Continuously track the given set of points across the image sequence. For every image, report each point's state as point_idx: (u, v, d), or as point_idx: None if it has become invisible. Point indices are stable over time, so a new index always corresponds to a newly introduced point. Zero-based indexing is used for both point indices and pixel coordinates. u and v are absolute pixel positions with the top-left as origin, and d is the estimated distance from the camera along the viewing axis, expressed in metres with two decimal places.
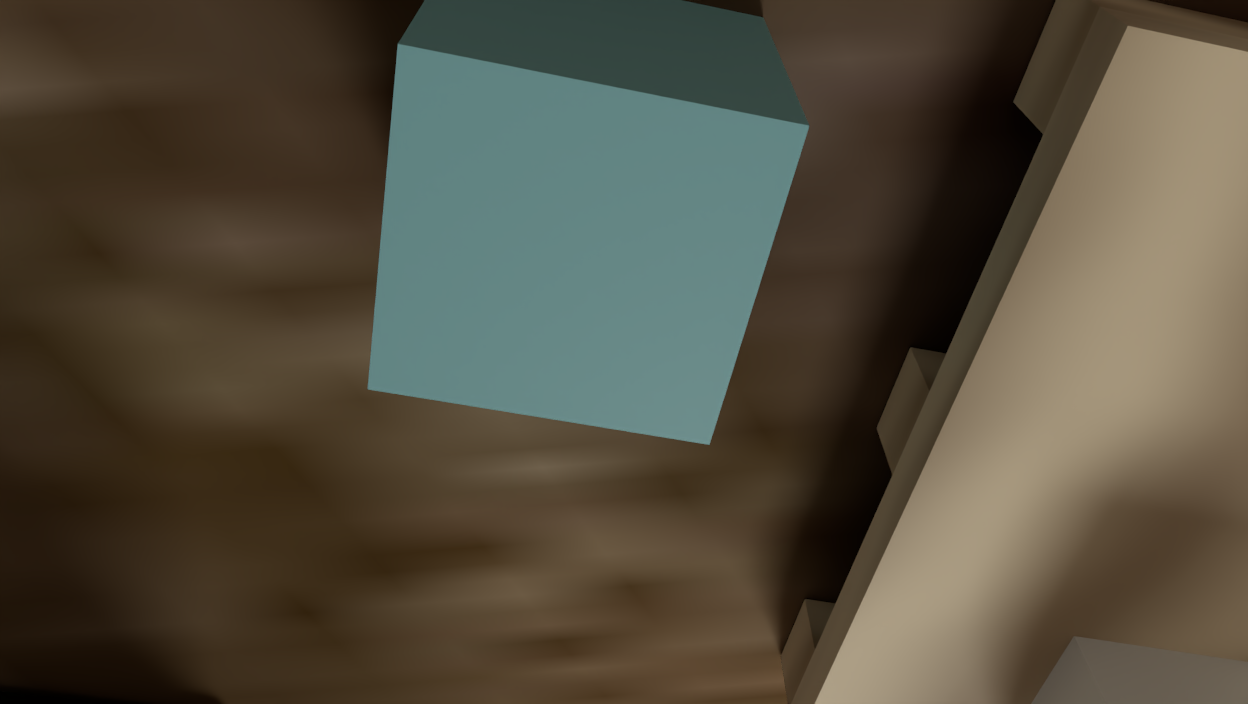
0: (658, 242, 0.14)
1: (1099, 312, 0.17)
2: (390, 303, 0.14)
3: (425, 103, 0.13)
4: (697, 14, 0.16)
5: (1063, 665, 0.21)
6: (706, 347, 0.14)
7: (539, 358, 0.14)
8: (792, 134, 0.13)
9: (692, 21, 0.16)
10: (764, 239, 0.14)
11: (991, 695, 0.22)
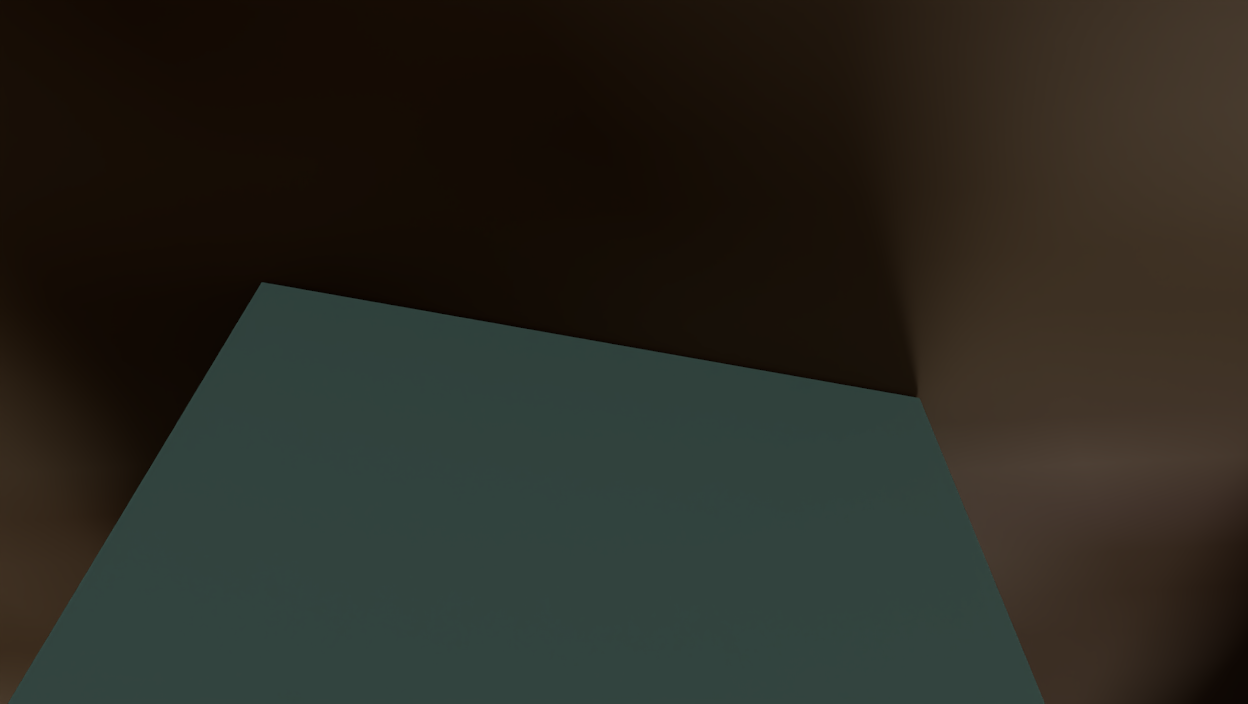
0: None
1: None
2: None
3: None
4: (792, 436, 0.07)
5: None
6: None
7: None
8: None
9: (786, 477, 0.07)
10: None
11: None
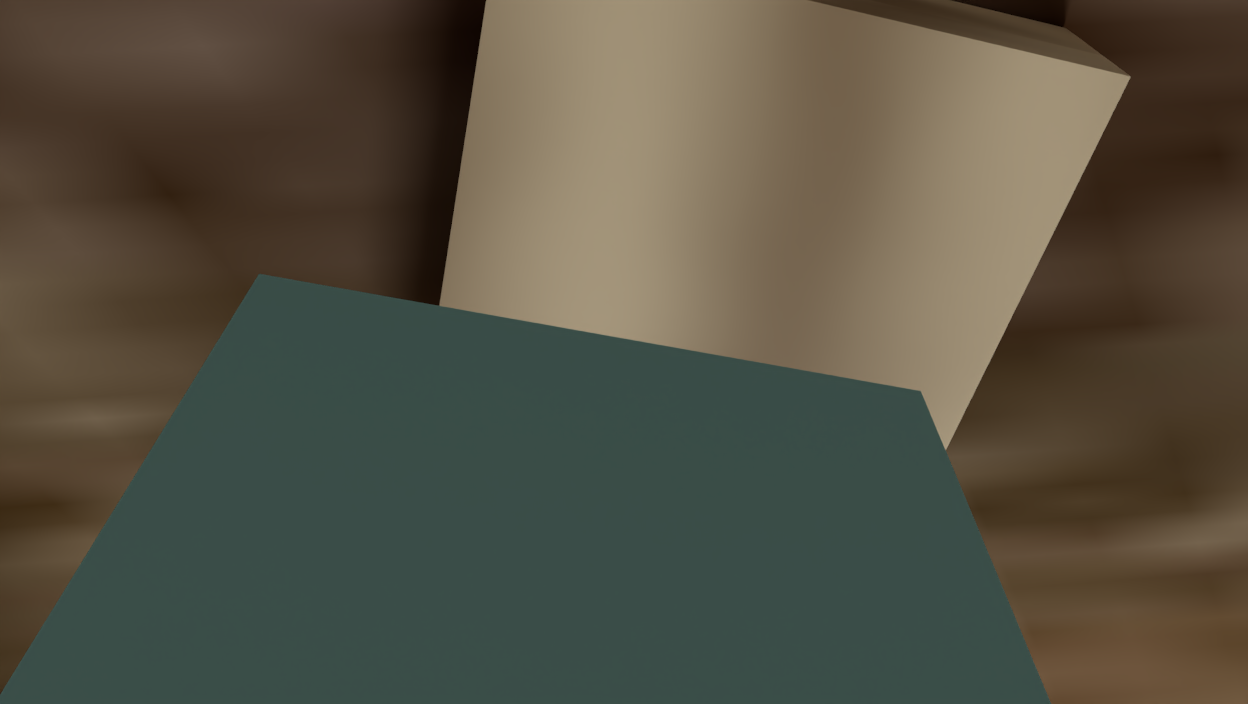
0: None
1: (558, 245, 0.16)
2: None
3: None
4: (793, 429, 0.07)
5: None
6: None
7: None
8: None
9: (786, 469, 0.07)
10: None
11: None
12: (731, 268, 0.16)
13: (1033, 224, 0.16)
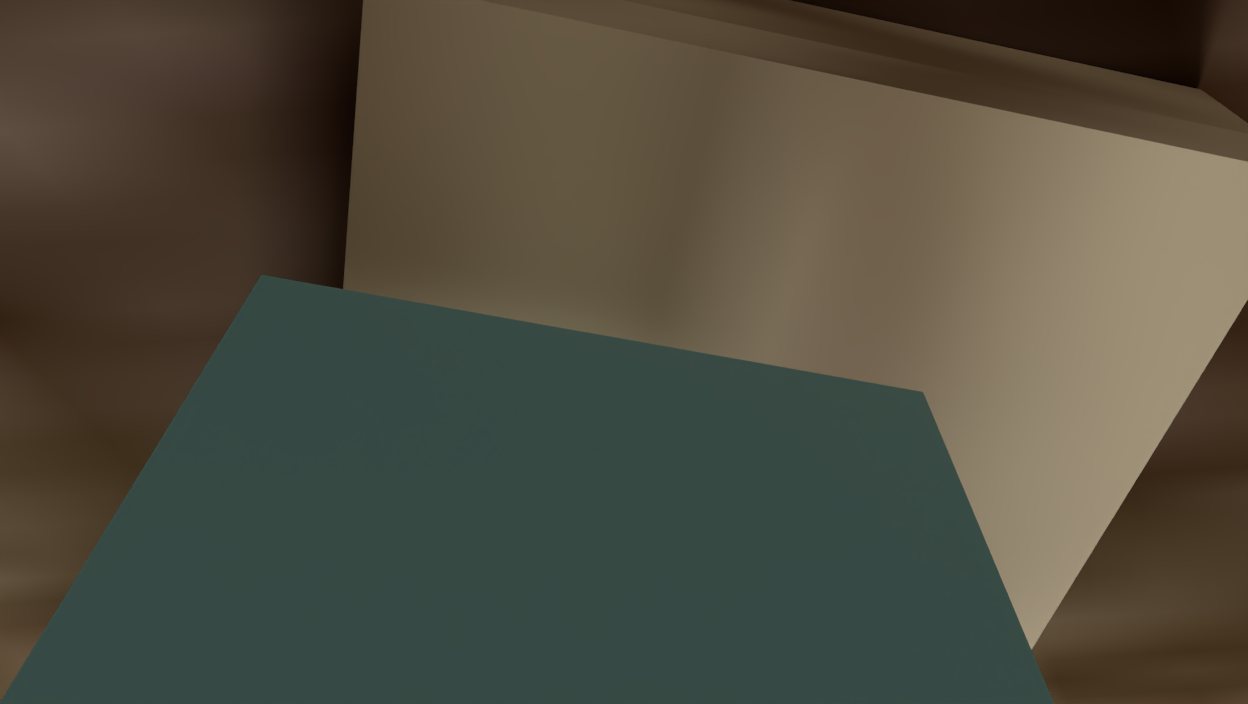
0: None
1: None
2: None
3: None
4: (796, 430, 0.07)
5: None
6: None
7: None
8: None
9: (790, 470, 0.07)
10: None
11: None
12: None
13: (1164, 378, 0.11)
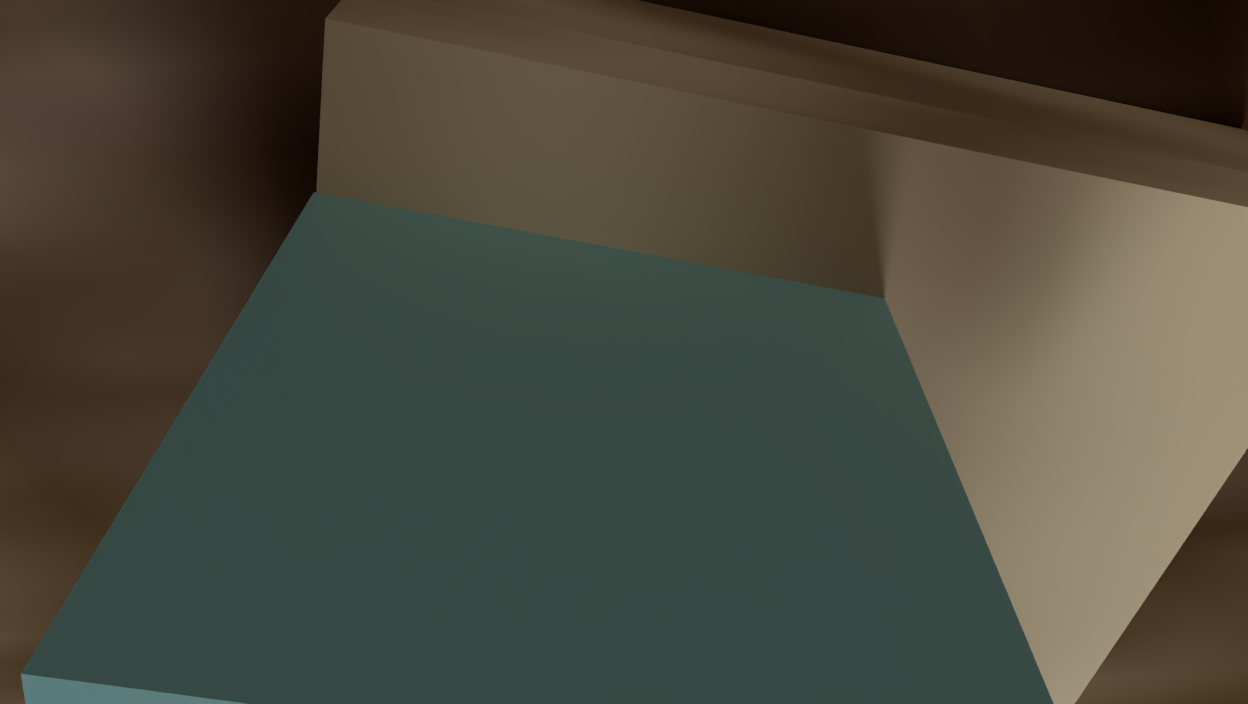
0: None
1: None
2: None
3: None
4: (772, 322, 0.08)
5: None
6: None
7: None
8: None
9: (765, 351, 0.08)
10: None
11: None
12: None
13: (1209, 449, 0.10)
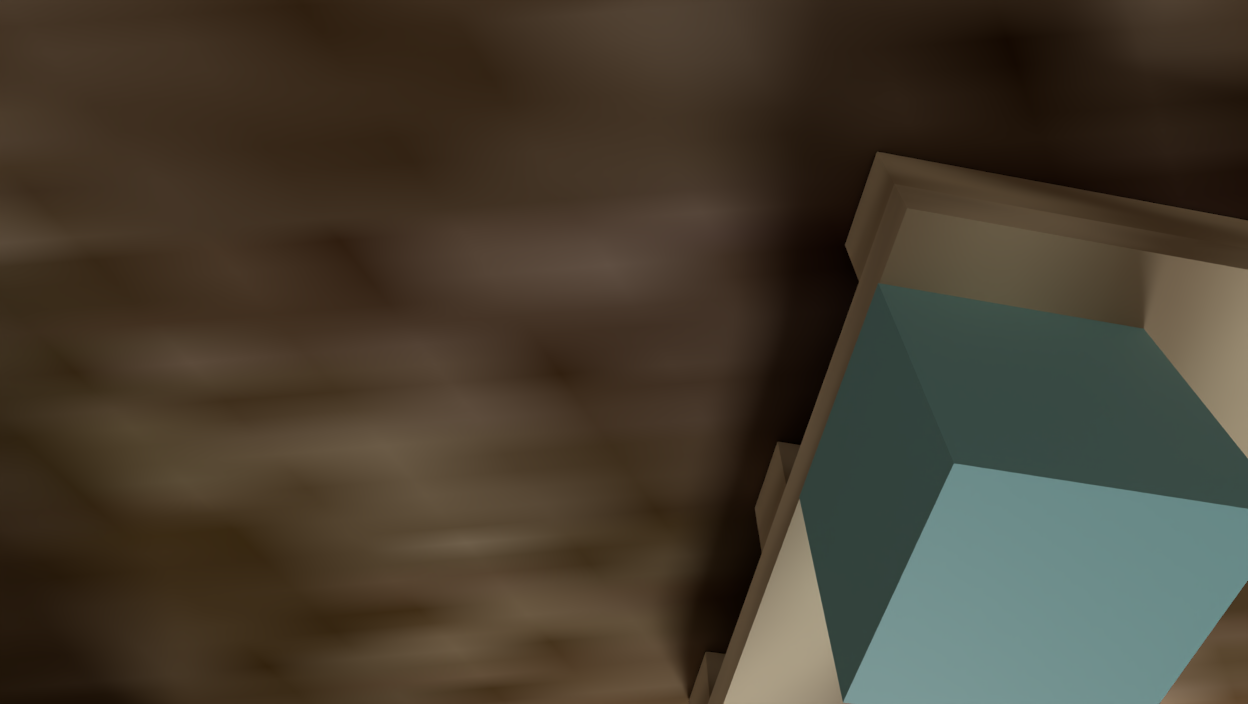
0: (1135, 598, 0.15)
1: None
2: (884, 641, 0.16)
3: (964, 504, 0.14)
4: (1101, 342, 0.18)
5: None
6: (1153, 671, 0.16)
7: (1002, 679, 0.16)
8: None
9: (1106, 355, 0.18)
10: (1229, 595, 0.15)
11: None
12: None
13: None
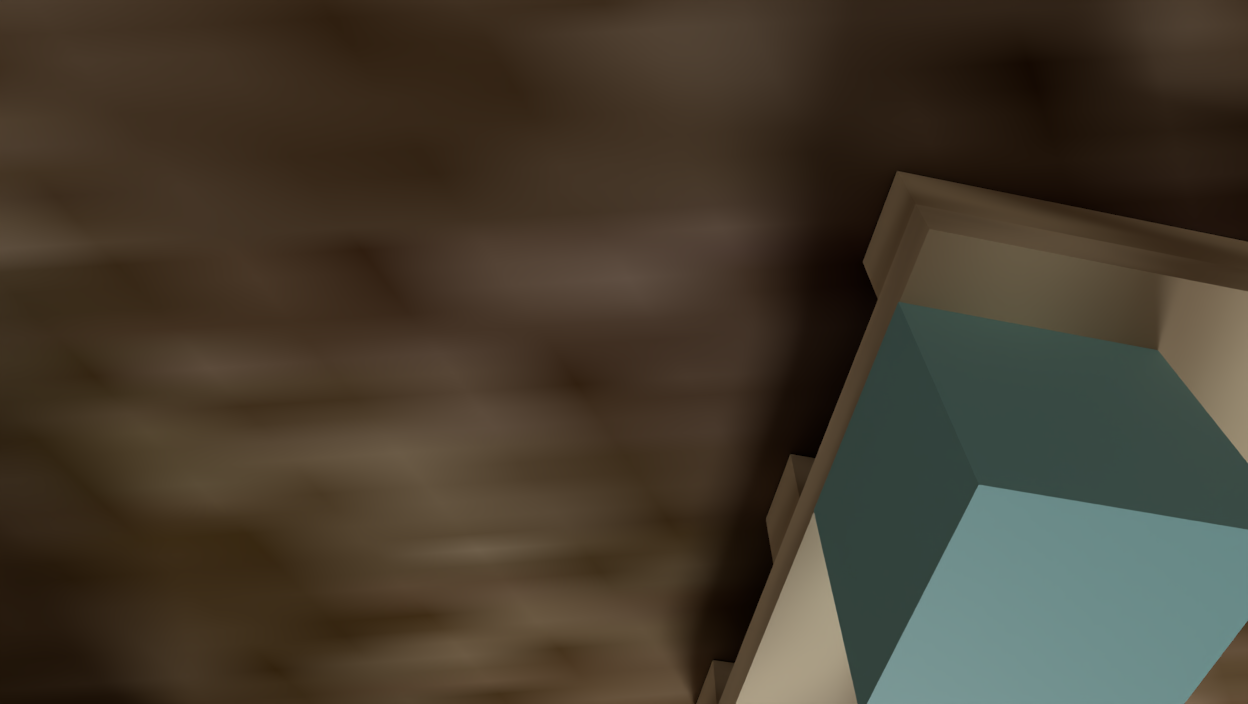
0: (1151, 617, 0.16)
1: None
2: (903, 657, 0.16)
3: (987, 524, 0.15)
4: (1117, 363, 0.18)
5: None
6: (1165, 689, 0.17)
7: (1018, 696, 0.17)
8: None
9: (1122, 377, 0.18)
10: (1243, 616, 0.16)
11: None
12: None
13: None
